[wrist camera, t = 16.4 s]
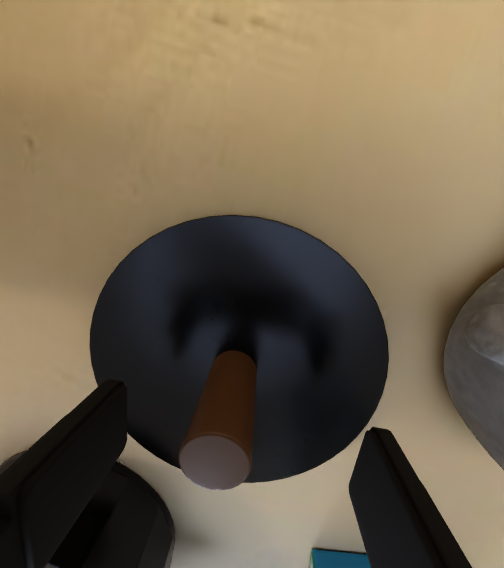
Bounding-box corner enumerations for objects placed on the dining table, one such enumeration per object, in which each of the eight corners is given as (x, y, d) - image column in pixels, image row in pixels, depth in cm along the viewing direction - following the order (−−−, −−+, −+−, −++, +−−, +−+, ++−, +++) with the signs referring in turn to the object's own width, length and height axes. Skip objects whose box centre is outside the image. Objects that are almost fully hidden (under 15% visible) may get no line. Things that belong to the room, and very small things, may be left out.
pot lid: (99, 194, 12) (-74, 163, 6) (418, 240, 11) (585, 258, 5) (105, 443, 16) (7, 578, 10) (341, 483, 15) (388, 646, 9)
